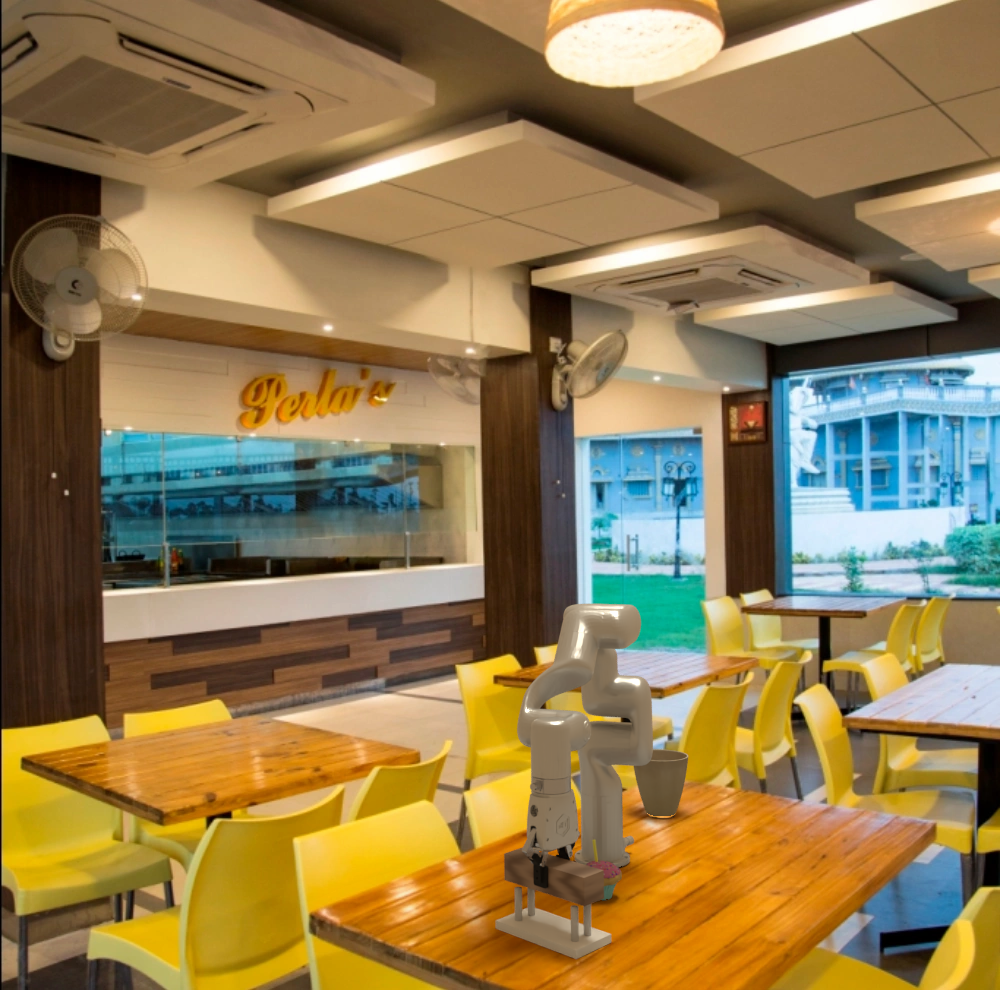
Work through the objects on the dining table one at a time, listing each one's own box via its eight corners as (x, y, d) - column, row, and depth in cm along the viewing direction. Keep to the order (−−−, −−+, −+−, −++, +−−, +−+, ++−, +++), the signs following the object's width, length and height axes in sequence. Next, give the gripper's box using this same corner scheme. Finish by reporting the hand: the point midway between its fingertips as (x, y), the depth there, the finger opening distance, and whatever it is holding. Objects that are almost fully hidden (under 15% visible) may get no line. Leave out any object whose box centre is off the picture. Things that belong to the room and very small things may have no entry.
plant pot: (700, 814, 266) (699, 754, 266) (668, 826, 255) (667, 763, 256) (653, 804, 276) (652, 746, 277) (621, 815, 265) (620, 755, 266)
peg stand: (495, 928, 189) (495, 888, 190) (531, 913, 197) (530, 875, 197) (576, 959, 176) (575, 915, 176) (611, 942, 183) (610, 900, 183)
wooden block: (604, 898, 181) (603, 870, 182) (584, 906, 177) (584, 877, 178) (524, 872, 195) (523, 847, 196) (504, 879, 191) (504, 853, 192)
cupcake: (571, 896, 206) (571, 837, 207) (598, 886, 212) (597, 829, 212) (603, 907, 200) (603, 846, 200) (630, 896, 206) (629, 837, 206)
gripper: (535, 797, 179) (536, 899, 178) (595, 779, 191) (596, 875, 190) (505, 789, 184) (505, 889, 183) (565, 773, 196) (566, 866, 195)
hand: (552, 881), depth 187 cm, fingers closed on wooden block, 5 cm apart
